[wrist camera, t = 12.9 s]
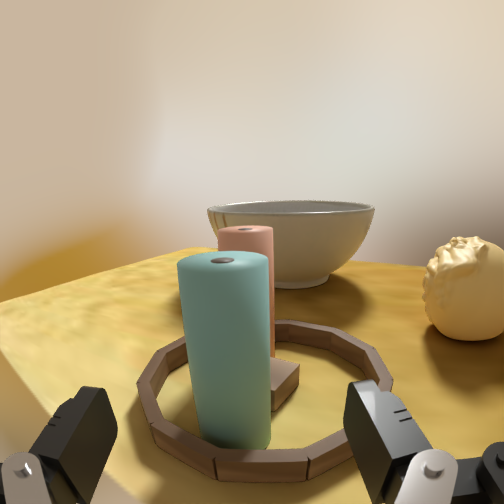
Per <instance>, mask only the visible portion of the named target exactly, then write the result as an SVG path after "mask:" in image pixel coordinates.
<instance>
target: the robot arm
mask: <svg viewBox="0 0 504 504" xmlns="http://www.w3.org/2000/svg"><path fill="white" fill-rule="evenodd" d="M343 425H344V431H345V434H346V437H347V440H348V442H349V445H350V447H351V450H352V452H353V455H354V457H355V460H356V463H357V465H358V468H359V470H360V473H361V475H362V478H363V481H364V483H365V486H366V488H367V491H368V494H369V496H370V499H371V502H372V504H382V503H385V504H504V442H496V443H493V444H491V445H490V446H488V447H487V449H486V450H485V451H484V453H483V455H482V457H476V458H468V459H458V460H456V459H455V458H454V457H453V456H452V455H451V454H449V453H448V452H445V451H443V450H438V449H433V448H432V446H431V444H430V443H429V441H428V440H427V438H426V437H425V435H424V434H423V432H422V431H421V429H420V428H419V426H418V425H417V423H416V422H415V420H414V419H412V416H411V414H410V413H409V411H407V408H406V407H405V405H404V404H403V403H402V401H401V400H400V398H398V397H397V396H395V395H394V394H392V393H391V392H389V391H385V392H381V391H380V389H379V388H378V386H377V385H376V383H375V381H374V380H373V379H368V380H362V381H356V382H350V383H349V385H348V390H347V397H346V404H345V411H344V417H343ZM117 432H118V427H117V421H116V418H115V416H114V413H113V410H112V407H111V404H110V401H109V398H108V395H107V392H106V391H105V389H103V388H97V387H88V386H83V387H81V388H80V390H79V391H78V393H77V394H76V396H75V397H74V399H72V398H70V399H69V400H67V401H66V402H64V403H63V404H62V405H60V406H59V407H58V409H57V410H56V412H55V413H54V415H53V417H52V418H51V419H50V420H49V422H48V425H46V426H45V428H44V429H43V431H42V432H41V434H40V436H39V437H38V438H37V440H36V441H35V443H34V444H33V446H32V447H31V449H30V450H29V452H19V453H15V454H12V455H11V456H9V457H8V458H7V459H6V460H5V461H4V463H0V504H76V503H78V504H90V502H91V499H92V497H93V494H94V491H95V489H96V487H97V484H98V481H99V479H100V477H101V474H102V472H103V469H104V467H105V464H106V462H107V459H108V457H109V455H110V452H111V450H112V447H113V445H114V443H115V440H116V438H117Z"/></svg>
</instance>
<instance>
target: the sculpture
mask: <svg viewBox="0 0 504 504" xmlns="http://www.w3.org/2000/svg"><path fill="white" fill-rule="evenodd" d="M426 268H427V270H426V275H425V276H424V278H423V288H424V291H425V292H424V293H423V295H422V299H423V301H424V302H425V311H426V313H427V316H428V318H429V320H430V321H431V322H432V323H433V324H434V325H435V326H436V328H437V329H438V330H439V331H440V332H441V333H442V334H443V335H445V336H447V337H449V338H452V339H457V340H466V341H476V340H486V339H490V338H494V337H496V336H498V335H500V334H501V333H502V332H503V331H504V250H502V249H501V248H500V247H498V246H496V245H494V244H492V243H489V242H486V241H484V240H481V239H480V238H479V237H478V236H475V237H470V238H463V237H457V238H456V237H453V238H452V239H451V241H450V242H449V243H448V244H446V245H445V246H441V247H439V248H438V249H437V250H436V254H435V256H434V258H433V259H430V261H429V264H428V265H427V267H426Z"/></svg>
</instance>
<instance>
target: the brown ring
mask: <svg viewBox="0 0 504 504" xmlns="http://www.w3.org/2000/svg"><path fill="white" fill-rule="evenodd" d="M275 341H290V342H295V343H299V344H304V345H308V346H313V347H317V348H322V349H327V350H331V351H332V352H334V353H336V354H337V355H339V356H340V357H342V358H344V359H345V360H347V361H349V362H350V363H352V364H354V365H355V366H357V367H359V368H360V369H362V370H363V372H364V374H365V377H366V379H367V380H368V379H373V380H374V381H375V383H376V385H377V386H378V388H379V389H380V391H381V392H385V391H389V392H391V390H392V385H393V378H392V376H391V374H390V373H389V371H388V369H387V367H386V366H385V364H384V362H383V361H382V359H381V357H380V355H379V354H378V352H377V350H376V349H374V347H372V346H370V345H368V344H367V343H365V342H363V341H361V340H359V339H357V338H355V337H353V336H351V335H349V334H347V333H345V332H344V331H342V330H340V329H337V328H333V327H328V326H322V325H317V324H311V323H306V322H301V321H296V320H291V321H290V320H275ZM187 361H188V355H187V348H186V341H185V336H184V337H182V338H180V339H178V340H176V341H174V342H172V343H170V344H169V345H167V346H165V347H163V348H161V349H159V350H157V352H155V354H154V355H153V357H152V358H151V360H150V362H149V363H148V365H147V366H146V368H145V369H144V371H143V373H142V374H141V376H140V377H139V379H138V381H137V383H136V384H137V388H138V392H139V396H140V399H141V403H142V406H143V409H144V412H145V415H146V418H147V421H148V424H149V427H150V430H151V433H152V436H153V438H154V441H155V444H157V446H158V447H160V448H161V449H163V450H164V451H166V452H168V453H169V454H171V455H172V456H174V457H176V458H177V459H179V460H181V461H182V462H184V463H186V464H187V465H189V466H191V467H193V468H194V469H196V470H198V471H200V472H202V473H203V474H205V475H207V476H209V477H211V478H213V479H215V480H216V479H217V478H218V479H219V481H229V482H298V481H305V479H306V478H307V480H310V479H312V478H314V477H316V476H318V475H320V474H322V473H323V472H325V471H327V470H329V469H331V468H333V467H335V466H336V465H338V464H340V463H342V462H343V461H345V460H347V459H349V458H350V457H352V456H354V455H353V452H352V450H351V447H350V445H349V442H348V440H347V437H346V434H345V431H344V428H343V429H341V430H340V431H338V432H336V433H334V434H332V435H330V436H328V437H326V438H324V439H322V440H320V441H318V442H316V443H314V444H312V445H310V446H308V447H305V448H303V449H275V450H248V449H221V448H218V447H216V446H214V445H212V444H210V443H208V442H206V441H204V440H202V439H200V438H198V437H196V436H195V435H193V434H191V433H189V432H187V431H185V430H183V429H181V428H180V427H178V426H176V425H174V424H173V423H171V422H169V421H167V420H166V419H164V418H163V416H162V413H161V411H160V408H159V406H158V403H157V401H156V398H157V396H158V394H159V392H160V390H161V388H162V386H163V384H164V382H165V380H166V378H167V376H168V374H169V372H170V371H172V370H174V369H175V368H177V367H179V366H180V365H182V364H184V363H185V362H187ZM299 367H300V364H296V363H292V362H289V361H285V360H281V359H277V358H273V357H270V378H271V411H274V412H275V411H276V410H277V408H278V407H279V406H280V405H281V404H282V403H283V402H284V401H285V400H286V398H287V397H288V396H289V395H290V394H291V393H292V392H293V390H294V389H295V388H296V387H297V386H298V385H299Z"/></svg>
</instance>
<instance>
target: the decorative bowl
mask: <svg viewBox="0 0 504 504" xmlns="http://www.w3.org/2000/svg"><path fill="white" fill-rule="evenodd" d="M374 210H375V209H374V207H373V206H371V205H368V204H362V203H353V202H339V201H311V200H309V201H307V200H304V201H302V200H297V201H295V200H292V201H261V202H245V203H234V204H225V205H220V206H214V207H211V208H208V210H207V213H208V217H209V221H210V223H211V226H212V228H213V231H214V233H215V235H216V236H217V239H218V234H217V230H219V229H222V228H226V227H234V226H268V227H272V228H273V252H274V288H282V289H301V288H309V287H314V286H318V285H320V284H323V283H325V282H326V281H327V280H328V278H329V274H330V273H332V272H334V271H335V270H337V269H339V268H340V267H341V266H343V265H344V264H345V263H346V262H347V261H348V260H349V259H350V258H351V257H352V256H353V255H354V254H355V252H356V251H357V250H358V248H359V247H360V245H361V244H362V242H363V240H364V239H365V237H366V235H367V232H368V230H369V227H370V225H371V222H372V219H373V215H374Z"/></svg>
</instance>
